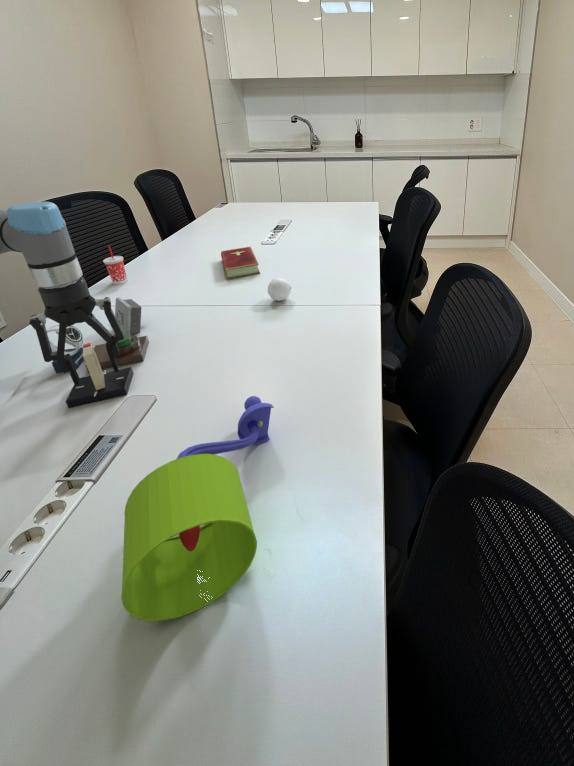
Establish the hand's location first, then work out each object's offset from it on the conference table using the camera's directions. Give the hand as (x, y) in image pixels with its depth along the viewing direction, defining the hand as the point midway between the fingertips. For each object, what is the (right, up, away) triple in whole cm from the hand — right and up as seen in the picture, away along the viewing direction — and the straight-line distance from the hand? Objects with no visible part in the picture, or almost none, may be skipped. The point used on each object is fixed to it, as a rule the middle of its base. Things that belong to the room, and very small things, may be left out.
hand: (97, 375), depth 86 cm
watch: (-14, -1, +11) cm, 17 cm away
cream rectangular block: (0, -2, +1) cm, 2 cm away
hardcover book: (+9, +25, +66) cm, 71 cm away
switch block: (-3, +1, +13) cm, 14 cm away
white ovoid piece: (+31, +14, +41) cm, 53 cm away
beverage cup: (-31, +19, +56) cm, 67 cm away
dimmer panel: (0, -4, +2) cm, 4 cm away
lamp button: (-2, +5, +12) cm, 13 cm away
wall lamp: (+36, -14, -22) cm, 45 cm away
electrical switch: (-8, +6, +25) cm, 27 cm away
